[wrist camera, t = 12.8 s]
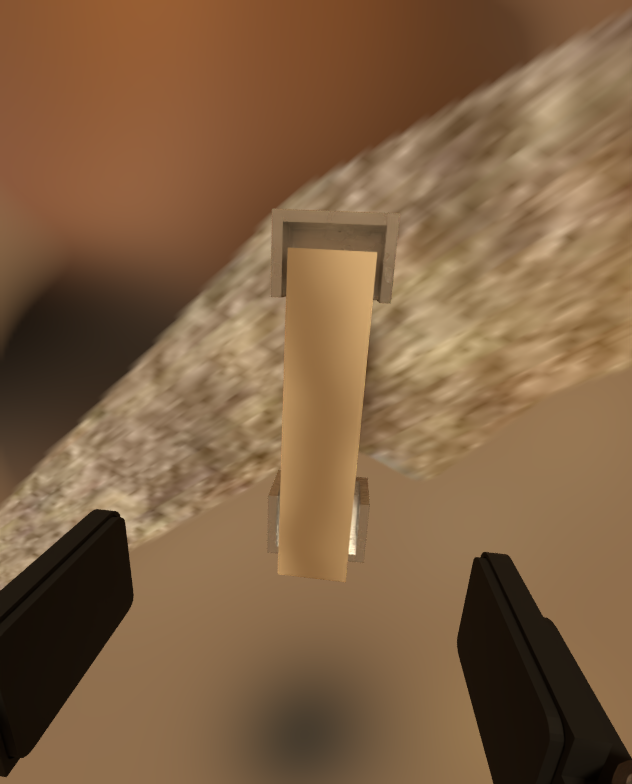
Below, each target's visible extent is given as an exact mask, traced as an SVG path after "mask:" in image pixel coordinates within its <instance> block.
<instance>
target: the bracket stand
mask: <svg viewBox="0 0 632 784" xmlns="http://www.w3.org/2000/svg"><path fill="white" fill-rule="evenodd" d="M399 218H400V213H374V212H347V211H319V210H292V209H272V248H271V297H285V296H286V288H287V256H288V248H306V249H326V250H345V251H365V252H377V262H376V272H375V282H374V293H373V300H377V301H378V302H379V303H390V304H391V295H392V286H393V276H394V266H395V257H396V247H397V238H398V228H399ZM280 483H281V470H278V472H277V475H276V477H275V480H274V482H273V485H272V487H271V490H270V492H269V495H268V547H267V552H268V553H269V552H270V553H278V548H279V516H280ZM369 507H370V504H369V490H368V478H362V477H356V480H355V490H354V501H353V511H352V522H351V532H350V542H349V553H348V561H350V562H360V563H364V554H365V545H366V535H367V526H368V516H369Z"/></svg>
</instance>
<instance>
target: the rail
mask: <svg viewBox="0 0 632 784" xmlns="http://www.w3.org/2000/svg"><path fill="white" fill-rule="evenodd" d="M376 262H377V252H365V251H345V250H326V249H306V248H288V256H287V288H286V321H285V353H284V386H283V418H282V451H281V483H280V516H279V548H278V574H281V575H290V576H298V577H307V578H315V579H323V580H332V581H341V582H346V574H347V573H346V572H347V563H348V553H349V542H350V532H351V522H352V511H353V501H354V490H355V480H356V470H357V459H358V449H359V438H360V428H361V418H362V407H363V397H364V386H365V376H366V366H367V355H368V345H369V334H370V324H371V314H372V303H373V293H374V282H375V272H376Z"/></svg>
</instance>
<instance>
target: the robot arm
mask: <svg viewBox="0 0 632 784" xmlns="http://www.w3.org/2000/svg"><path fill="white" fill-rule="evenodd" d="M132 602H133V586H132V578H131V569H130V561H129V552H128V543H127V535H126V526H125V520H124V519H123V518H121V517H120V514H119V513H118V512H116V511H109V510H100V509H96V510H93V511H92V512H90V513H89V514H88V515H87V516H86V517H85V518H83V519H82V520H81V521H80V522H79V523H78V524H77V525H75V526H74V527H73V528H72V529H71V530H70V531H69V532H67V533H66V534H65V535H64V536H63V537H62V538H60V539H59V540H58V541H57V542H56V543H55V544H54V545H52V546H51V547H50V548H49V549H48V550H47V551H46V552H44V553H43V554H42V555H41V556H40V557H39V558H38V559H36V560H35V561H34V562H33V563H32V564H31V565H29V566H28V567H27V568H26V569H25V570H24V571H23V572H21V573H20V574H19V575H18V576H17V577H16V578H15V579H13V580H12V581H11V582H10V583H9V584H8V585H6V586H5V587H4V588H3V589H2V590H1V591H0V776H3V777H7V776H8V774H9V773H10V772H11V770H12V769H13V767H14V766H15V765H16V763H17V762H18V760H19V759H20V758H24V757H25V756H27V755H28V754H29V753H30V752H31V750H32V749H33V748H34V747H35V745H36V744H37V742H38V741H39V740H40V738H41V737H42V735H43V734H44V732H45V731H46V729H47V728H48V727H49V725H50V723H51V722H52V721H53V719H54V718H55V716H56V715H57V713H58V712H59V710H60V709H61V708H62V706H63V705H64V703H65V702H66V700H67V699H68V698H69V696H70V694H71V693H72V692H73V690H74V689H75V687H76V686H77V685H78V683H79V682H80V680H81V679H82V677H83V676H84V674H85V673H86V672H87V670H88V669H89V667H90V666H91V664H92V663H93V661H94V660H95V659H96V657H97V656H98V654H99V653H100V651H101V650H102V648H103V647H104V645H105V644H106V643H107V641H108V640H109V638H110V636H111V635H112V634H113V632H114V631H115V629H116V628H117V627H118V625H119V624H120V622H121V621H122V620H123V618H124V617H125V615H126V614H127V612H128V611H129V609H130V607H131V605H132ZM457 648H458V654H459V658H460V662H461V665H462V669H463V673H464V677H465V680H466V684H467V688H468V691H469V695H470V699H471V703H472V706H473V710H474V714H475V717H476V721H477V725H478V728H479V732H480V736H481V739H482V743H483V747H484V751H485V754H486V758H487V761H488V765H489V769H490V772H491V776H492V780H493V784H632V758H631V756H630V755H629V753H628V751H627V750H626V748H625V746H624V744H623V743H622V741H621V739H620V737H619V736H618V734H617V732H616V731H615V729H614V727H613V725H612V723H611V722H610V720H609V718H608V716H607V715H606V713H605V711H604V710H603V708H602V706H601V704H600V702H599V701H598V699H597V697H596V696H595V694H594V692H593V690H592V689H591V687H590V685H589V683H588V682H587V680H586V678H585V676H584V675H583V673H582V671H581V669H580V668H579V666H578V664H577V662H576V661H575V659H574V657H573V655H572V654H571V652H570V650H569V648H568V647H567V645H566V643H565V642H564V640H563V638H562V636H561V635H560V633H559V631H558V629H557V628H556V626H555V625H554V623H553V622H552V621H551V620H549V619H548V618H544V617H543V616H542V614H541V612H540V610H539V609H538V607H537V605H536V603H535V601H534V599H533V598H532V596H531V594H530V592H529V590H528V589H527V587H526V585H525V583H524V582H523V580H522V578H521V576H520V574H519V572H518V571H517V569H516V567H515V565H514V563H513V562H512V560H511V558H510V557H509V556H508V555H506V554H498V553H489V552H483V553H482V555H481V557H480V558H479V557H476V558H474V561H473V565H472V570H471V574H470V579H469V584H468V589H467V594H466V598H465V603H464V608H463V613H462V618H461V623H460V627H459V632H458V637H457Z"/></svg>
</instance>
